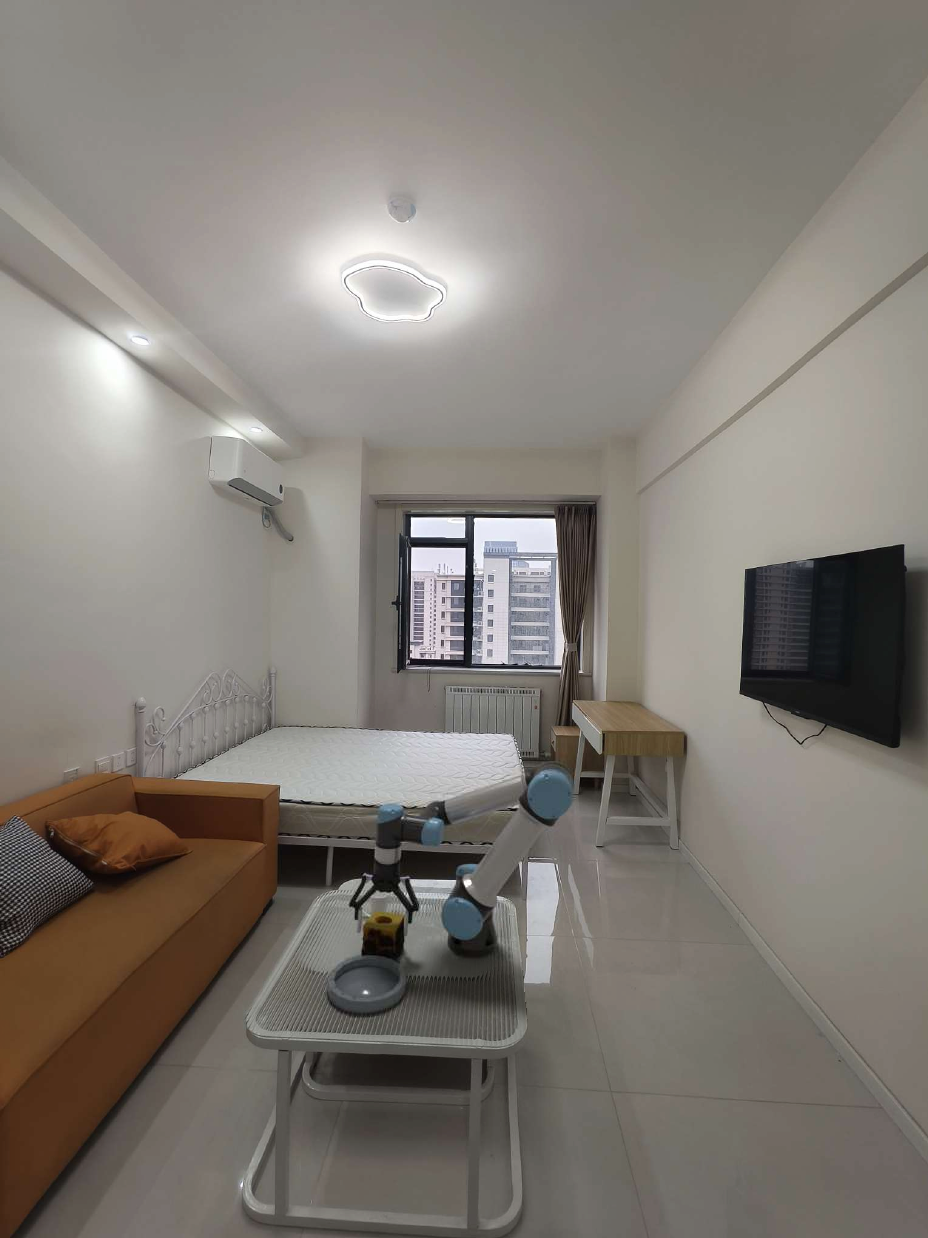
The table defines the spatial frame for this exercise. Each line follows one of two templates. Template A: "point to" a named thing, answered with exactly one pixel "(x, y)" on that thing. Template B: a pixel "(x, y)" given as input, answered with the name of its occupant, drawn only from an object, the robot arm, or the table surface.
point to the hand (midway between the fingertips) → (382, 932)
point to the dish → (366, 984)
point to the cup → (378, 902)
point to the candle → (384, 935)
